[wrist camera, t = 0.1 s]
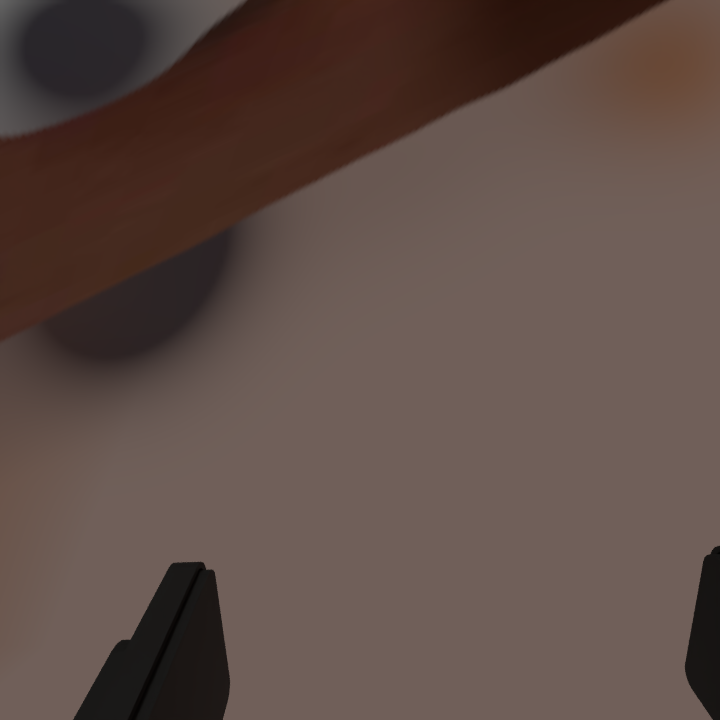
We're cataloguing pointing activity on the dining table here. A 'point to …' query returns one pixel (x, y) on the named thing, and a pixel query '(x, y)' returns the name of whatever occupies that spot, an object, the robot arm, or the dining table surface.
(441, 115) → the dining table surface
